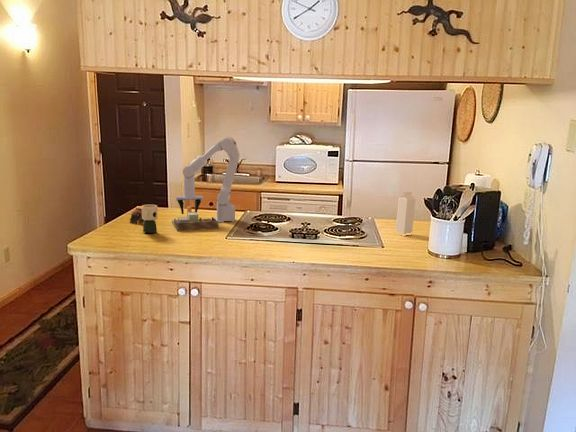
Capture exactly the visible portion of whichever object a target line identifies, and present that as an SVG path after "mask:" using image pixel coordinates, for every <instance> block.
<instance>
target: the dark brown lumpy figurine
mask: <svg viewBox="0 0 576 432" xmlns="http://www.w3.org/2000/svg"><path fill="white" fill-rule="evenodd" d="M144 221H145V220H143V219H142V208H140V207H136V208H135V210H133V211H132V212H131V215H130V218H129V223H132V224H136V225H137V224H138V223H144Z"/></svg>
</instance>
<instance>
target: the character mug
mask: <svg viewBox="0 0 576 432" xmlns="http://www.w3.org/2000/svg"><path fill="white" fill-rule="evenodd" d="M141 209H142V219H143V220H144V221H143V227H142V228H143V229H142V232H143V233H148V234H154V233H157V232H158V230H157V223H156V220H157V219H158V205H156V204H143V205H141Z"/></svg>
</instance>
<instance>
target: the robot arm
mask: <svg viewBox="0 0 576 432" xmlns="http://www.w3.org/2000/svg"><path fill="white" fill-rule="evenodd" d="M221 151H224V152H225V153H226V154H227V156H228V157H229V159H228V163H227V166H226V171H225V175H224V178H223V182H222V185H221V188H220V191H219V193H218V194H217V197H216V217H214V219H215V220H216V221H218V223H223V222H224V221H232V222H236V206H235V204H234V203H231V202H230V200H231V196H232V195H231V191H232V185H233V182H234V178H235V174H236V172H237V171H236V170H237V167H238V163H239V160H240V151H239V147H238V146H237V142H236V140H235V139H234V137H231V136H225V137H224V138H222V139H221V140H220V141H218V142H217V143H215V144H214V145H212V146H211V147H210V148H209V149H208V150H207V151H206V152H205V153H204V154H202V155H197V156H195V157H194V159H193V160H192V161H191V162H188V163H187V165H186V166H184V168H183V169H182V175H183V195H180V196H178V195H177V196H174V201H175V202H177V203H178V205H179V208H180V211H181V214H182V215H184V205H185V204H184V201H194V212H197V213H198V209H199V207H200V205H201V202H202V201H203V200H204V196H203V195H196V193H195V192H196V190H195V189H196V188H195V187H196V186H195V185H196V180H195V175H196V173H197V172H199V171H200V170H201V169H202V168H203V167H204V166H206V165H207V160H209V159H210V158H211V157H212V156H213V155H215V154H216V153H217V152H221ZM224 223H225V222H224Z"/></svg>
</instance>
